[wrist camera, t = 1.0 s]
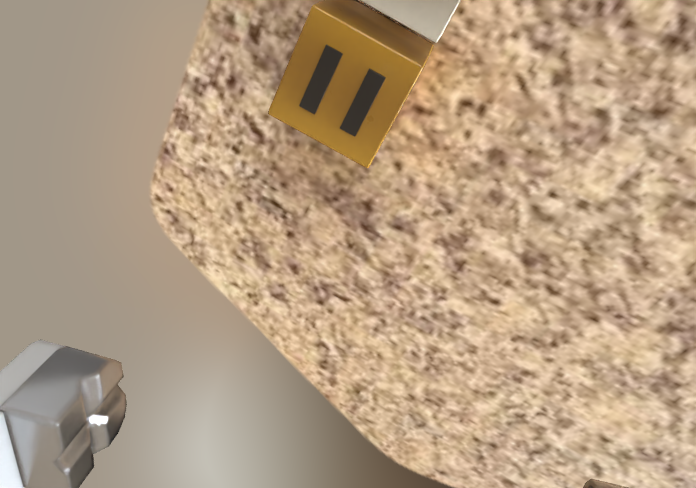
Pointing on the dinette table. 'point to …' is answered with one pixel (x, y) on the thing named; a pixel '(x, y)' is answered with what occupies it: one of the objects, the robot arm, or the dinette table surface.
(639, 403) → the dinette table surface
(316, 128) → the yellow striped cube
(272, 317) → the dinette table surface
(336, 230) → the dinette table surface
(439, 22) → the white block
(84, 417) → the robot arm
